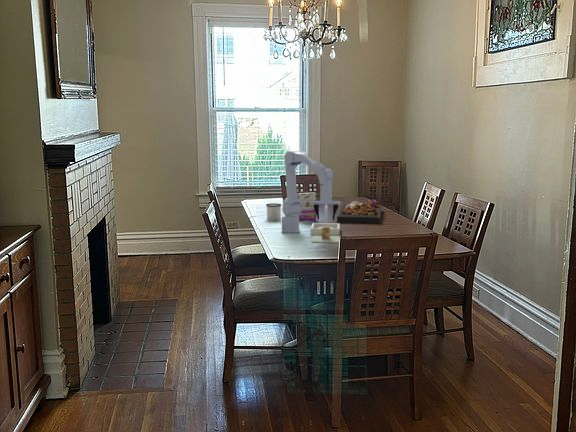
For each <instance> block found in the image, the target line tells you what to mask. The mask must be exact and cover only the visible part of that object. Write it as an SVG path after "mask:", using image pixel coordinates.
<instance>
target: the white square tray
mask: <svg viewBox="0 0 576 432" xmlns="http://www.w3.org/2000/svg"><path fill="white" fill-rule="evenodd" d="M322 226H330V236H340V231H341V230H340V229H341V227H340V226H341V223H334V222H333V223H329V222H328V223H325V222H324V223H323V222H312V224H311V226H310V235H311V236H322Z"/></svg>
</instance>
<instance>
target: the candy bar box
mask: <svg viewBox="0 0 576 432" xmlns="http://www.w3.org/2000/svg"><path fill="white" fill-rule="evenodd" d="M297 198H298V199H300V200H301V205H302V212H301V213H300V215H299V222H301V221H302V222H305V221H306V222H307V221H317V214H316V211H315V209H314V205H311V202H312V201H317V193H316V192H297Z"/></svg>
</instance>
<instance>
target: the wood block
mask: <svg viewBox="0 0 576 432" xmlns="http://www.w3.org/2000/svg"><path fill="white" fill-rule="evenodd" d="M321 236H322V239H330V236H331V235H330V226H322V235H321Z"/></svg>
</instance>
